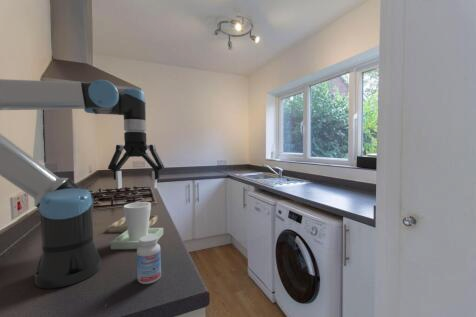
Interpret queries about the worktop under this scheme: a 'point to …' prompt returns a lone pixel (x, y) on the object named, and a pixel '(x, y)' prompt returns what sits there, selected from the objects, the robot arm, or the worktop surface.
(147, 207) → the foam cup
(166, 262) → the worktop surface
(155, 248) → the pill bottle
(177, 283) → the worktop surface
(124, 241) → the tray
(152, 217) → the holder
